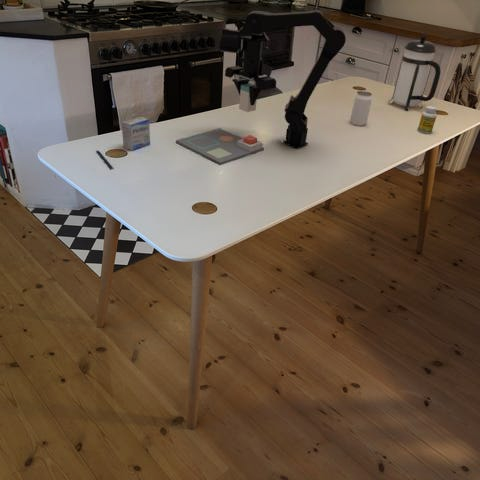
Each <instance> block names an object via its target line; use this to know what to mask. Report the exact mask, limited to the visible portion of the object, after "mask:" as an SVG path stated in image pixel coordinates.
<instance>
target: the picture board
mask: <svg viewBox="0 0 480 480" xmlns="http://www.w3.org/2000/svg"><path fill="white" fill-rule="evenodd" d="M175 143H176V144H178V145H180V146H181V147H184V148H185V149H188V150H190V151H191V152H194V153H196V154H198V155H200V156H202V157H203V158H205V159H208V160H210V161H211V162H214V163H216V164H218V165H220V166H221V165H224V164H227V163H230V162H233V161H236V160H239V159H242V158H245V157H247V156H248V157H249V156H251V155H253V154H257V153H259V152H262V151H264V150H265V147H264V146H263V144H264V142H262V141H260V140H258V139H257V143H254V144H251V145H249V144H247V143H245V142H243V138H242V137H240V136H238V135H237V134H234V133H231V132H230V131H227V130H225V129H223V128H221V127H219V128H215V129H211V130H208V131H205V132H201V133H196V134H194V135H190V136H186V137H184V138H180V139H176V140H175Z"/></svg>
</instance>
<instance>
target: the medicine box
mask: <svg viewBox="0 0 480 480" xmlns="http://www.w3.org/2000/svg"><path fill="white" fill-rule="evenodd" d="M120 124H121V132H122V133H121V134H122V135H121V136H122V145H123V148H125V149H128V150H129V151H132V152H134V151H136V150H139V149H142V148H144V147H148V146H149V145H151V131H150V129H151V127H150V119H148V118H146V117H143V116H138V117H134V118H131V119H128V120H124V121H121V123H120Z"/></svg>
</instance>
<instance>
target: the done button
mask: <svg viewBox="0 0 480 480" xmlns="http://www.w3.org/2000/svg"><path fill="white" fill-rule="evenodd" d="M257 140H258V138H257V137H256V136H253V135H251V134H250V135H246V136H243V142H245V143H247V144H249V145H251V144H254V143H257Z"/></svg>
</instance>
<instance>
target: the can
mask: <svg viewBox="0 0 480 480" xmlns="http://www.w3.org/2000/svg"><path fill="white" fill-rule="evenodd" d="M372 95H373V93H371V92H369V91H366V90H360V91H359V90H358V91H357V92H356V94H355V95H354V96H355V97H354V101H353V105H352V111H351V115H350V119H349V120H350V124H351V125H353V126H356V127H357V126H358V127H364V126H366V125H367V124H368V123H367V122H368V119H369V113H370V109H371V105H372V99H373V97H372Z"/></svg>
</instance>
